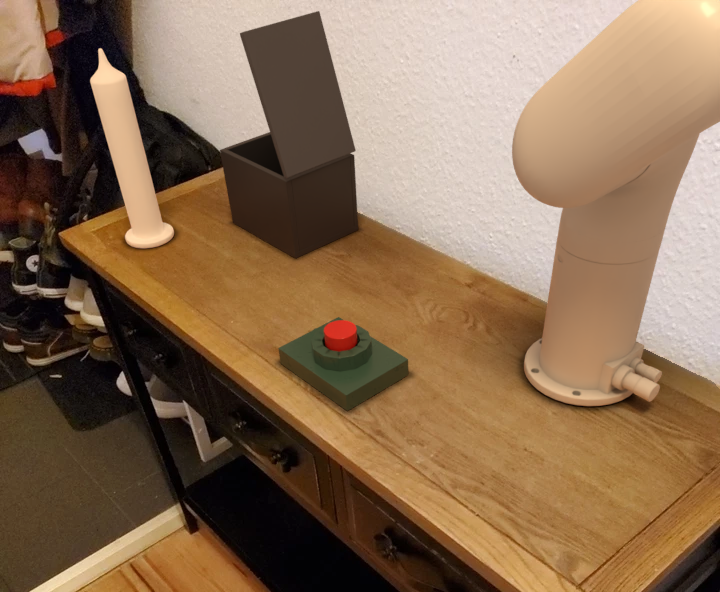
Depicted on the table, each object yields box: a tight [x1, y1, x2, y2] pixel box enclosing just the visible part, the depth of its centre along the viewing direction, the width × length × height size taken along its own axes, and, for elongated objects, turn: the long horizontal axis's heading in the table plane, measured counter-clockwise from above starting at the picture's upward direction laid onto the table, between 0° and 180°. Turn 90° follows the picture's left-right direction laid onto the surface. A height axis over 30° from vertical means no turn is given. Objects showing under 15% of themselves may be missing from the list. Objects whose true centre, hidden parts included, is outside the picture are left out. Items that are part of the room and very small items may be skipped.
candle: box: [89, 47, 175, 249], centre depth 101 cm, size 7×7×25 cm
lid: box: [239, 10, 356, 178], centre depth 93 cm, size 17×12×1 cm
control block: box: [277, 316, 409, 412], centre depth 83 cm, size 12×9×4 cm
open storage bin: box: [219, 131, 359, 259], centre depth 106 cm, size 16×12×11 cm
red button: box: [324, 319, 357, 352], centre depth 81 cm, size 4×4×2 cm
